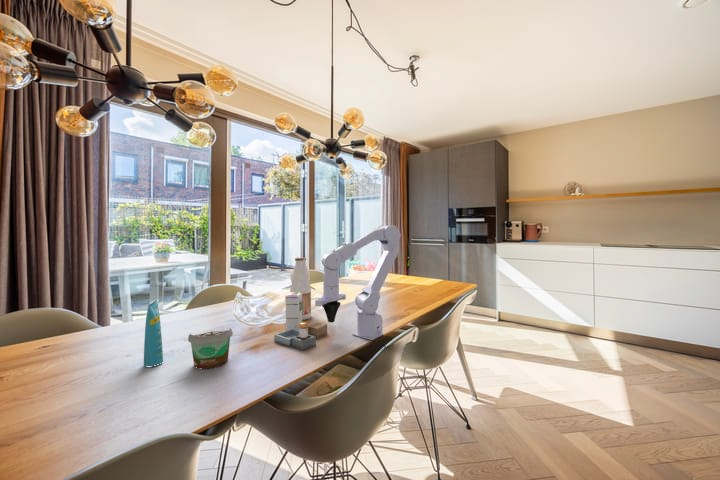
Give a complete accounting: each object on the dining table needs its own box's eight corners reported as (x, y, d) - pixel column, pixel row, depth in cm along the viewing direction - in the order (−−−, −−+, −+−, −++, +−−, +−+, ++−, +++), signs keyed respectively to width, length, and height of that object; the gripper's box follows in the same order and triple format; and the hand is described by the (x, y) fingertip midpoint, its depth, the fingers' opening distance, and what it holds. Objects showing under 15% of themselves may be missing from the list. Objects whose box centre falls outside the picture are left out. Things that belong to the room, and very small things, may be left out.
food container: (187, 374, 84) (186, 339, 83) (188, 366, 89) (187, 333, 89) (234, 365, 89) (234, 332, 89) (233, 358, 95) (232, 326, 94)
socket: (315, 345, 106) (315, 336, 105) (303, 350, 101) (302, 341, 101) (304, 341, 109) (304, 333, 109) (291, 346, 104) (291, 337, 104)
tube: (161, 367, 88) (159, 303, 87) (141, 371, 86) (139, 304, 85) (164, 358, 95) (163, 298, 94) (146, 360, 93) (145, 299, 92)
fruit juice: (295, 321, 133) (294, 259, 132) (287, 316, 140) (287, 257, 140) (314, 318, 138) (314, 258, 137) (306, 313, 146) (305, 256, 145)
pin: (309, 345, 105) (309, 322, 105) (303, 348, 103) (303, 325, 103) (304, 343, 107) (303, 321, 107) (297, 346, 105) (297, 323, 104)
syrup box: (299, 330, 121) (299, 295, 121) (285, 330, 121) (285, 295, 121) (302, 326, 127) (302, 292, 126) (288, 326, 127) (288, 292, 126)
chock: (327, 334, 117) (327, 324, 117) (317, 339, 112) (316, 328, 112) (313, 331, 121) (313, 321, 121) (303, 335, 116) (303, 325, 116)
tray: (307, 339, 111) (307, 333, 111) (289, 346, 104) (289, 339, 104) (292, 334, 116) (292, 328, 116) (274, 341, 109) (274, 334, 109)
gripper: (336, 281, 119) (336, 315, 119) (309, 287, 107) (309, 324, 108) (349, 283, 115) (349, 318, 115) (323, 289, 103) (323, 328, 103)
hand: (331, 321), depth 111 cm, fingers closed
